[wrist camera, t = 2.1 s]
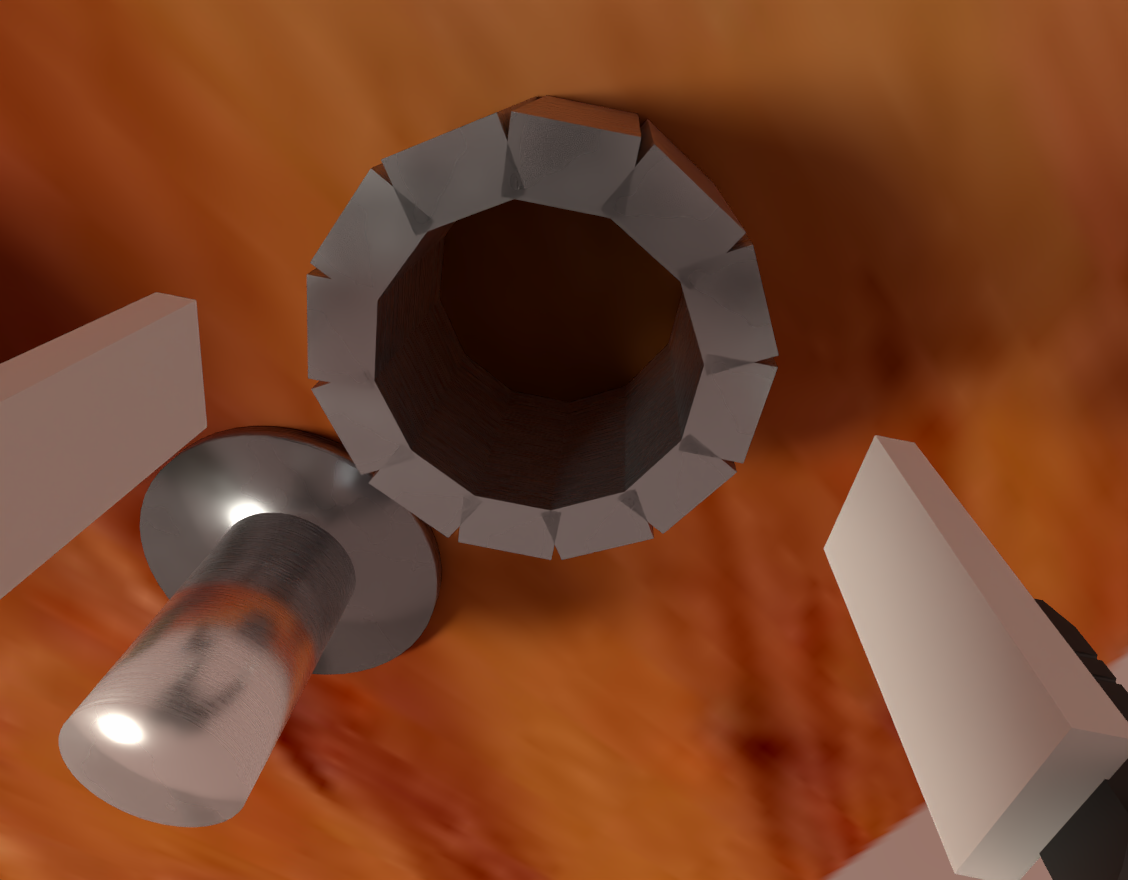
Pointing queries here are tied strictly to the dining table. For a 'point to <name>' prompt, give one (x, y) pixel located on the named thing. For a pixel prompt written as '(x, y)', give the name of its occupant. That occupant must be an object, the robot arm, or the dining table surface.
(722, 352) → the ring
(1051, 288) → the dining table surface
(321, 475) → the piston post
